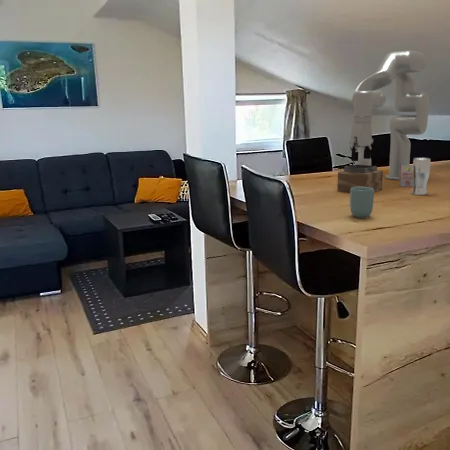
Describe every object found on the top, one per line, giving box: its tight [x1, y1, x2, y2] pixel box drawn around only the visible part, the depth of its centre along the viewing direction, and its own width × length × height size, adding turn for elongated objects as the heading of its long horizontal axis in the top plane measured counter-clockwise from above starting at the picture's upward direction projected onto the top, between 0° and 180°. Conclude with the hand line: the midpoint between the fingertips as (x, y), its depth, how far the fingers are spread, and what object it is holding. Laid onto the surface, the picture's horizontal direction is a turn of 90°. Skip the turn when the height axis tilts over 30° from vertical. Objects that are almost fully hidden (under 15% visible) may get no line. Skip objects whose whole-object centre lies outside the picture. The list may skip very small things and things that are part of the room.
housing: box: [337, 164, 384, 193], centre depth 215 cm, size 14×14×11 cm
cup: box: [349, 187, 375, 219], centre depth 167 cm, size 8×8×10 cm
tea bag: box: [398, 164, 413, 188], centre depth 222 cm, size 4×7×10 cm, turn 70°
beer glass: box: [411, 157, 431, 196], centre depth 203 cm, size 7×7×15 cm
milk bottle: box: [354, 147, 372, 166], centre depth 228 cm, size 8×8×20 cm
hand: (360, 159), depth 213 cm, fingers open, 9 cm apart
